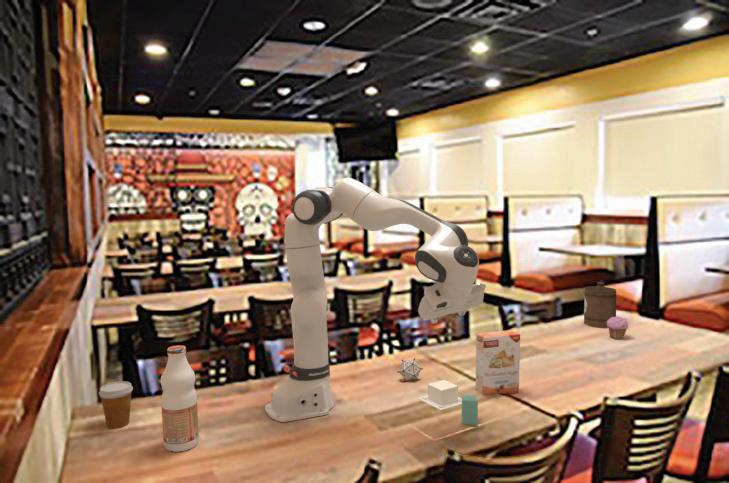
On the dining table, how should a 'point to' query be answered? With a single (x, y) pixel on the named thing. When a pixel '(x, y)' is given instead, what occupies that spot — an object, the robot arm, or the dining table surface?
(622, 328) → the cupcake
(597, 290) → the wooden container
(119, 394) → the disposable coffee cup
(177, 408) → the fruit juice
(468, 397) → the teal brick
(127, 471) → the dining table surface
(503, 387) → the cracker box
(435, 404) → the baseplate
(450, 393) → the cream brick
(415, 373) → the game die
